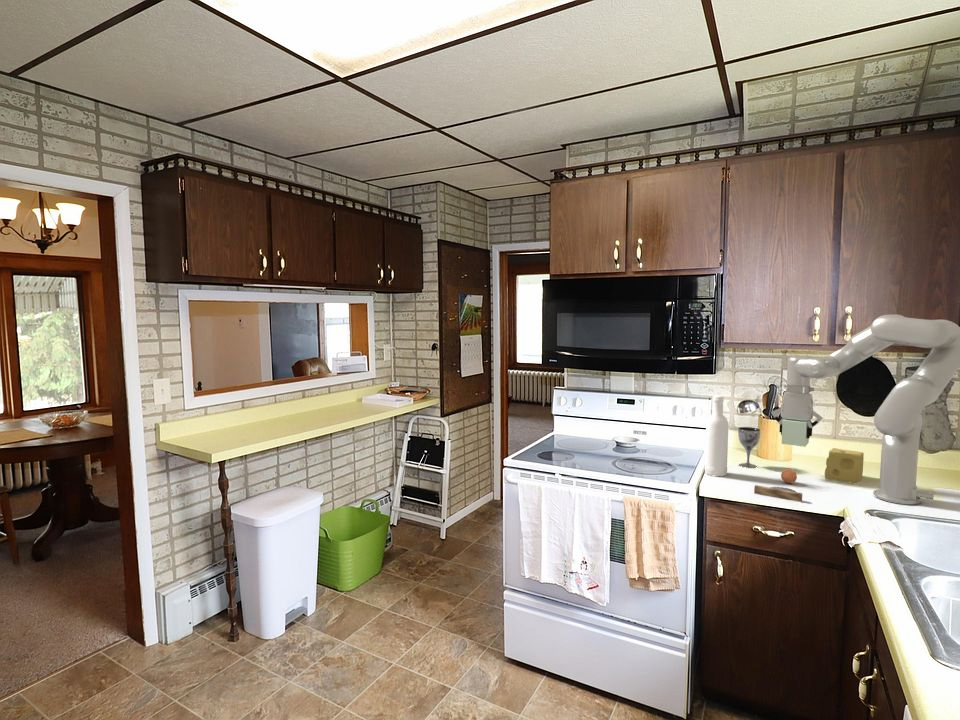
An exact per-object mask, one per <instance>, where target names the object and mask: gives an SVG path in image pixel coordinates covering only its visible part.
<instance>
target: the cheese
mask: <svg viewBox="0 0 960 720" xmlns="http://www.w3.org/2000/svg"><path fill="white" fill-rule="evenodd" d="M864 458H865V457H864V452H862V451H856V450H848V449H841V448H835V447H833V448H831V449H830V450H829V451H828V457H827V458H826V461H825V466H826V468H825V470H824V478H825V479H826V480H827V479H829V480H834V481H840V482H844V481H845V483H849V482H851V483H850V484H854V483H856V484H857V483H859V481H861V479H862V478H863V474H864V473H863V472H864V471H863V470H864Z"/></svg>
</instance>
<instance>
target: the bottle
mask: <svg viewBox="0 0 960 720" xmlns="http://www.w3.org/2000/svg"><path fill="white" fill-rule="evenodd" d="M705 427H706V428H705V452H704V453H705V458H704V459H705V460H704V473H705V474H706V475H708V474H710V475H709V476H711V475H715V476H714V477H718V476H721V477H725V475H726V476H727V475H728V450H729V449H728V447H729V422H728V419H727V417H726V416H725V415H724V396H723V395H719V394H718V395H713V396H712V414H711V415H709V416H708V417H707V419H706V425H705Z"/></svg>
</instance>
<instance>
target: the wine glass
mask: <svg viewBox="0 0 960 720" xmlns="http://www.w3.org/2000/svg"><path fill="white" fill-rule="evenodd" d="M737 431H738V432H737V433H738V434H737V436H738V441H739V443H740V445H741V446H742V447H743V448H744V449H745V452H746V462H741V464H740V463H738V464H739V465H738V467H741V466H742V467H741V468H744V467H746V468H745V469H757V468H758V467H757V466H758V465H757V464H755V463H751V462H750V457H751V453H752V450H753V449H755V447H757V445H758V444H759V442H760V438H761V429H760V428H757V427H751V426H741V427H738V430H737ZM756 465H757V466H756ZM756 467H757V468H756Z"/></svg>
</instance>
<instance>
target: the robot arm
mask: <svg viewBox="0 0 960 720" xmlns="http://www.w3.org/2000/svg"><path fill="white" fill-rule="evenodd" d="M894 344H898V345H902V346H903V345H904V346H912V347H917V348H922V349H923V348H925V349H930V352H929V353H928V355H927V356H926V357H925V358H924V359H923V360H922V362H921V364H920V365H919V367H918V368H917V369H916V371H914V372H913V374H912V375H911V376H910V377H906V378H903V379H902V380H900V381H899V382H898V383H896V385H895V386H894V387H893V388H892V389H891V391H890V392H889V394H887V396H886V398H885V399H884V400H883V402H882V404H880V406H879V407H878V409H877V411H876V412H875V414H874V417H873V418H874V419H873V423H874V427H875V429H877V431H878V432H879V433H881V434H882V440H881V441H882V442H881V450H880V451H881V452H880V468H879V488H878V489H877V488H876V489H874V490H873V492H872V493H873V494H874V495H875V496H876V497H875V496H874V495H873V496H874V497H875V498H877V497H878V498H877V499H879V498H880V499H879V500H881V499H883V500H882V501H884V500H885V501H884V502H888V503H892V504H898V505H920V504H921V502H922V498H923V499H926V500H927V499H928V500H934V498H935V497H934V496H935V495H934V493H932V492H929V491H925V490H924V491H923V490H920V489H918V485H917V478H918V477H917V476H918V475H917V474H918V473H917V472H918V459H919V448H920V447H919V445H920V438H921V433H922V432H921V431H922V427H923V416H922V414H921V413H922V412H923V410H924V409H925V407H927V406H930V405H931V404H932V403H934V402H936V401H937V400H938V399H939V397H940V395H941V393H942V392H943V391H944V390H945V388H946V387H947V385H948V384H949V383H950V381H951V380H952V378H953V377H954V376H955V374H956V373H957V371H958V370H959V368H960V326H959V325H958V324H956V323H955V322H953V321H950V320H948V319H925V318H924V319H923V318H913V317H906V316H904V315H902V314H884V315H883V314H882V315H880V316H878V317H877V318H875V319H874V320H873V322H871V325H870V326H868V327H866V328H865V329H863V330H861V331H859V332H858V333H855V334H854V335H852V336H851V337H849V339H848V342H847V343H846V344H845V345H844V346H842V347H841V348H839V349H837V350H836V351H834V352H832V353H830V354H829V355H827V356H822V357H814V358H813V357H812V358H810V357H809V356H803V355H802V356H797V355H794V356H790V357H788V359H787V372H786V390H785V391H784V392H783V395H782V399H781V407H780V408H777V409H775V410H773V411H772V412H771V415H772V416H773V418H774V419H775V421H776V422H777V423H778V425H779V433H780V435H781V436H782V421H783V420H786V419H790V420H799V421H805V422H807V425H808V428H807V438H808V439H809V440H810V437H812V436H813V428H814V427H815V426H816V425H818V424H819V423H820V422H821V421H822V420H823V416H821V415H820V414H818V413H817V412H816V411H815V410H814V400H813V394H812V392H815V387H812V386H811V379H817V380H822V379H826V378H827V379H828V378H832V377H835V376H837V375H840V374H842V373H843V372H846V371H847V370H849V369H851V368H853V367H854V366H856V365H858V364H860V363H861V362H864V361H865V360H866V359H868V358H870V357H872V356H873V355H875V354H877V353H879V352H881V351H883V350H885V349H887V348H888V347H890V346H892V345H894ZM779 413H780V416H779V415H778V414H779ZM813 417H815V418H816V419H815V420H814V421H812V419H813Z"/></svg>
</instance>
